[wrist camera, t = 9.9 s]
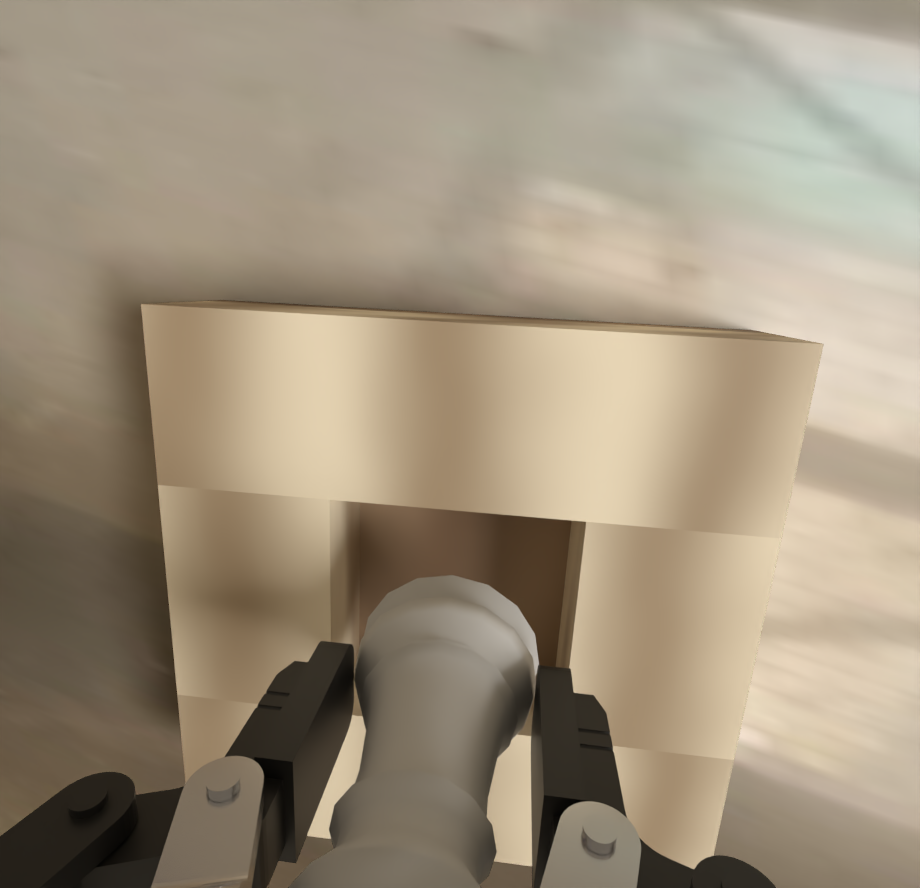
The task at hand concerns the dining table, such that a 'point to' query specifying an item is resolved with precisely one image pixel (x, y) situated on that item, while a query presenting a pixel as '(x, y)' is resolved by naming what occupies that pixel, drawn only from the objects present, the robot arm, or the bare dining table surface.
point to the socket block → (481, 518)
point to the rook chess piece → (430, 737)
